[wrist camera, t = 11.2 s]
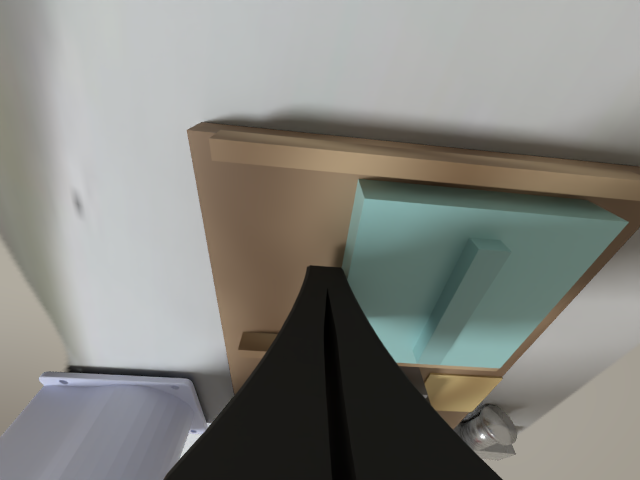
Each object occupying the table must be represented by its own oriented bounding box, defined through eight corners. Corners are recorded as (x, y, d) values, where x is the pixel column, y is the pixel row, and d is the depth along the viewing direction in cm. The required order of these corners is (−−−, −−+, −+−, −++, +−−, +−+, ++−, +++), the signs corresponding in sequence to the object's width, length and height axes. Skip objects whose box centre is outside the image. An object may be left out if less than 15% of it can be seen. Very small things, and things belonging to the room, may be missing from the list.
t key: (450, 400, 20) (415, 423, 23) (462, 439, 18) (423, 457, 21) (531, 410, 21) (486, 430, 24) (551, 448, 19) (499, 465, 22)
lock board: (243, 403, 20) (232, 451, 18) (201, 119, 9) (154, 142, 6) (446, 412, 21) (463, 460, 18) (648, 164, 10) (762, 200, 7)
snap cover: (329, 330, 13) (331, 372, 11) (358, 178, 9) (367, 208, 7) (483, 340, 14) (507, 381, 12) (587, 200, 9) (649, 233, 7)
